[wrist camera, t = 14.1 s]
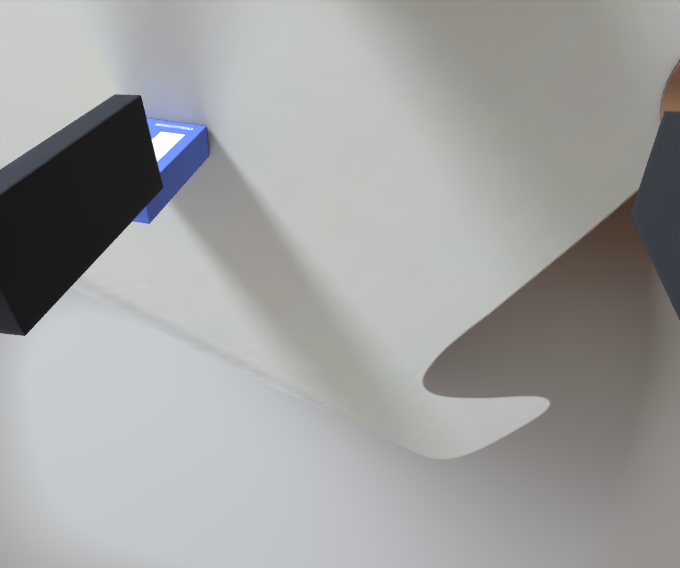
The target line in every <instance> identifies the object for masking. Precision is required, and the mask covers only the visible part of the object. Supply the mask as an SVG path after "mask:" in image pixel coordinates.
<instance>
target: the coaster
mask: <svg viewBox="0 0 680 568" xmlns="http://www.w3.org/2000/svg"><path fill="white" fill-rule="evenodd" d="M664 111H676V112H680V61H679V63H678V64H677V65H676V67H675V68H674V70H673V72H672V74H671V75H670V77H669V79H668V81H667V84H666V86H665V89H664V92H663V96H662V100H661V108H660V119H661V121H662V117H663V114H664Z"/></svg>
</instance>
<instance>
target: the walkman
mask: <svg viewBox="0 0 680 568" xmlns="http://www.w3.org/2000/svg"><path fill="white" fill-rule="evenodd" d="M146 119H147V123H148V127H149V131H150V135H151V139H152V143H153V147H154V151H155V155H156V159H157V163H158V167H159V171H160V175H161V179H162V183H163V187H164V188H163V189H162V190H161V191H160V192H159V193H158V194H157V195H156V196H155V197H154V198H153V200H152V201H151V202H150V203H149V204H148V205H147V206H146V207H145V208H144V209H143V210H142V211H141V212H140V213H139V215H138V216H137V217H136V218H135V219H134V220H133V221H134V222H141V223H147V224H150V223H151V221H152V220H153V219H154V218H155V217H156V216H157V215H158V213H159V212H160V211H161V210H162V209H163V208H164V207H165V205H166V204H167V203H168V202H169V201H170V200H171V199H172V198H173V196H174V195H175V194H176V193H177V192H178V191H179V190H180V188H181V187H182V186H183V185H184V184H185V183H186V182H187V180H188V179H189V178H190V177H191V176H192V175H193V174H194V173H195V171H196V170H197V169H198V168H199V167H200V166H201V165H202V163H203V162H204V161H205V160H206V159H207V158H208V157H209V149H208V138H207V128H206V126H200V125H192V124H185V123H178V122H171V121H163V120H156V119H149V118H146Z"/></svg>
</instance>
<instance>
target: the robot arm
mask: <svg viewBox="0 0 680 568" xmlns="http://www.w3.org/2000/svg"><path fill="white" fill-rule="evenodd" d="M163 188H164V187H163V183H162V179H161V175H160V171H159V167H158V163H157V159H156V155H155V151H154V147H153V143H152V139H151V135H150V131H149V127H148V123H147V119H146V115H145V111H144V107H143V103H142V99H141V95H114V96H112V97H110V98H109V99H107V100H106V101H104V102H103V103H101V104H100V105H98V106H97V107H95V108H94V109H92V110H91V111H89V112H88V113H86V114H85V115H83V116H81V117H80V118H78V119H77V120H75V121H74V122H72V123H71V124H69V125H68V126H66V127H65V128H63V129H62V130H60V131H59V132H57V133H55V134H54V135H52V136H51V137H49V138H48V139H46V140H45V141H43V142H42V143H40V144H39V145H37V146H36V147H34V148H33V149H31V150H30V151H28V152H26V153H25V154H23V155H22V156H20V157H19V158H17V159H16V160H14V161H13V162H11V163H10V164H8V165H7V166H5V167H4V168H2V169H1V170H0V333H4V334H14V335H23V336H25V335H26V334H27V333H28V332H29V331H30V330H31V329H32V328H33V327H34V325H35V324H36V323H37V322H38V321H39V320H40V319H41V318H42V317H43V316H44V315H45V314H46V313H47V312H48V311H49V310H50V308H51V307H52V306H53V305H54V304H55V303H56V302H57V301H58V300H59V299H60V298H61V297H62V296H63V295H64V293H65V292H66V291H67V290H68V289H69V288H70V287H71V286H72V285H73V284H74V283H75V282H76V281H77V280H78V279H79V278H80V276H81V275H82V274H83V273H84V272H85V271H86V270H87V269H88V268H89V267H90V266H91V265H92V264H93V263H94V262H95V260H96V259H97V258H98V257H99V256H100V255H101V254H102V253H103V252H104V251H105V250H106V249H107V248H108V247H109V245H110V244H111V243H112V242H113V241H114V240H115V239H116V238H117V237H118V236H119V235H120V234H121V233H122V232H123V231H124V229H125V228H126V227H127V226H128V225H129V224H130V223H131V222H132V221H133V220H134V219H135V218H136V217H137V216H138V215H139V213H140V212H141V211H142V210H143V209H144V208H145V207H146V206H147V205H148V204H149V203H150V202H151V201H152V200H153V198H154V197H155V196H156V195H157V194H158V193H159V192H160V191H161V190H162V189H163ZM631 217H632V220H633V222H634V224H635V226H636V228H637V230H638V232H639V235H640V237H641V238H642V241H643V243H644V245H645V247H646V249H647V252H648V254H649V256H650V258H651V260H652V262H653V264H654V266H655V269H656V271H657V273H658V275H659V277H660V279H661V281H662V283H663V286H664V288H665V290H666V292H667V294H668V296H669V298H670V300H671V303H672V305H673V307H674V309H675V311H676V313H677V315H678V318H679V320H680V112H676V111H664V114H663V117H662V121H661V124H660V127H659V130H658V133H657V136H656V139H655V142H654V145H653V148H652V151H651V154H650V157H649V160H648V163H647V166H646V169H645V172H644V175H643V178H642V181H641V184H640V187H639V190H638V193H637V196H636V200H635V203H634V206H633V209H632V212H631Z"/></svg>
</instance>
